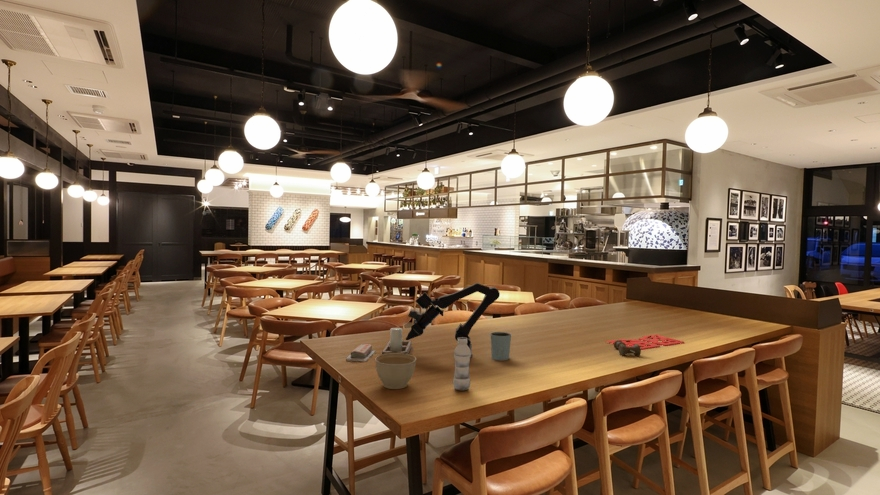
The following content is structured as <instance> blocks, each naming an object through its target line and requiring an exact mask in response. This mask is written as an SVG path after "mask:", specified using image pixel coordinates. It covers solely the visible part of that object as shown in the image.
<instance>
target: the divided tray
mask: <svg viewBox="0 0 880 495" xmlns="http://www.w3.org/2000/svg"><path fill="white" fill-rule="evenodd" d="M412 343H413V342H412V340H402V352H392V351H390V339H389V341H388V342H387V343H386V345H385V346H384V349H383V350H382V352H381V355H383V354H390V353H402V354H409V353H410V351H411V349H412V345H413V344H412ZM409 355H410V354H409Z"/></svg>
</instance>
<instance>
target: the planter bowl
mask: <svg viewBox="0 0 880 495" xmlns="http://www.w3.org/2000/svg"><path fill="white" fill-rule="evenodd" d="M374 360H375V361H374V362H375V368H376V373H377V376H378V378H379V379H380V381H381V383H382V387H384V388H386V389H390V390H399V389H404V388H406V387H407V386H408V385H409V384H408V383H409V382H410V381H411V379H412V377H413V375H414V373H415V369H416V362H417V358H416V356H415V355H411V354H402V353H390V354H383V355H382V354H380V355H377V356H376V357H375V359H374Z"/></svg>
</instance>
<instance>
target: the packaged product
mask: <svg viewBox="0 0 880 495" xmlns="http://www.w3.org/2000/svg"><path fill="white" fill-rule="evenodd" d="M372 349H373V345H372V344H370V343H360V344H359V345H358V346H356V347H355V348H354V349H352V351H351V352H350V354H349V355H348V356H347V357H345V361H347V362H363V363H364V362H367V361H368V360H369V359H370V358H372V356H373V355H374V354H375V353H376V350H372Z"/></svg>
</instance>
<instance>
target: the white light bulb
mask: <svg viewBox="0 0 880 495" xmlns="http://www.w3.org/2000/svg"><path fill="white" fill-rule="evenodd" d="M389 331H390V332H389V333H390V334H389V340H390V351H392V352H402V341H403V328H402V327H391V328H390V329H389Z"/></svg>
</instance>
